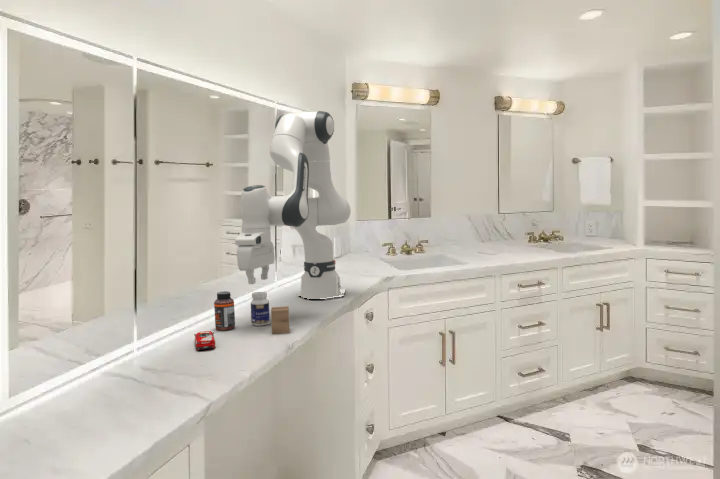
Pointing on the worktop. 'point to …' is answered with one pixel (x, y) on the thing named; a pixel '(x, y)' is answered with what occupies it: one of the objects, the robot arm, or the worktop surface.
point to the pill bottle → (259, 309)
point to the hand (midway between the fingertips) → (258, 281)
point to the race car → (204, 340)
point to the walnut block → (280, 320)
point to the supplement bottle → (224, 311)
